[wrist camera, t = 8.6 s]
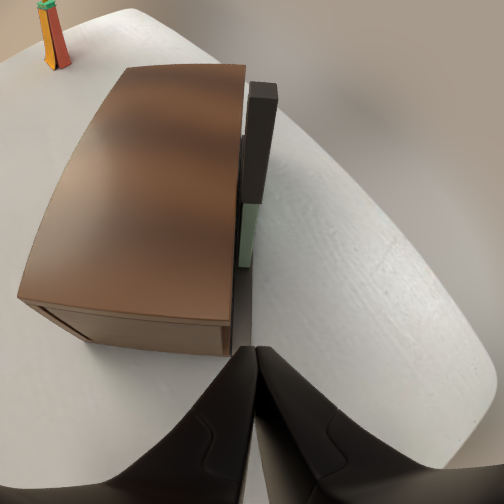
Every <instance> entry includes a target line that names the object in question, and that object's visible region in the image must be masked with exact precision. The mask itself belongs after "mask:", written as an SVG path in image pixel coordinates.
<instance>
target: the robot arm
mask: <svg viewBox="0 0 504 504" xmlns="http://www.w3.org/2000/svg"><path fill="white" fill-rule="evenodd" d="M254 420H255V427H256V433H257V439H258V444H259V450H260V455H261V461H262V466H263V471H264V477H265V482H266V487H267V492H268V498H269V503H270V504H504V464H501V465H494V466H485V467H475V468H462V469H434V468H430V467H426V466H424V465H421V464H419V463H417V462H415V461H413V460H412V459H410V458H408V457H407V456H405V455H403V454H402V453H400V452H398V451H397V450H395V449H394V448H392V447H390V446H389V445H387V444H386V443H384V442H382V441H381V440H379V439H378V438H376V437H375V436H373V435H372V434H370V433H369V432H368V431H366V430H365V429H363V428H362V427H361V426H359V425H358V424H357V423H356V422H354V421H353V420H352V419H351V418H349V417H348V416H347V415H346V414H345V413H343V412H342V411H341V410H340V409H338V408H337V407H336V406H335V405H334V404H333V403H332V402H331V401H329V400H328V399H327V398H326V397H325V396H324V395H323V394H322V393H320V392H319V391H318V390H317V389H316V388H315V387H314V386H313V385H312V384H310V383H309V382H308V381H307V380H306V379H305V378H304V377H303V376H302V375H301V374H299V373H298V372H297V371H296V370H295V369H294V368H293V367H292V366H291V365H290V364H289V363H287V362H286V361H285V360H284V359H283V358H282V357H281V356H280V355H279V354H278V353H277V352H276V351H275V350H274V349H273V348H271V347H270V346H257V347H256V348H255V347H254V346H240V347H239V348H238V350H237V351H236V352H235V353H234V355H233V356H232V357H231V359H230V360H229V361H228V362H227V364H226V365H225V366H224V368H223V369H222V370H221V371H220V373H219V374H218V375H217V377H216V378H215V379H214V380H213V382H212V383H211V384H210V385H209V387H208V388H207V389H206V390H205V392H204V393H203V394H202V395H201V397H200V398H199V399H198V400H197V402H196V403H195V404H194V405H193V406H192V408H191V409H190V410H189V411H188V412H187V414H186V415H185V416H184V417H183V418H182V420H181V421H180V422H179V423H178V424H177V425H176V426H175V427H174V428H173V429H172V431H170V432H169V433H168V434H167V435H166V436H165V437H164V438H163V439H162V440H161V441H160V442H158V443H157V444H156V445H155V446H154V447H153V448H151V449H150V450H149V451H148V452H147V453H145V454H144V455H143V456H142V457H140V458H139V459H138V460H137V461H136V462H134V463H133V464H132V465H131V466H129V467H128V468H127V469H126V470H124V471H123V472H122V473H120V474H119V475H117V476H116V477H114V478H112V479H110V480H107V481H105V482H102V483H98V484H91V485H83V486H73V487H61V488H44V489H17V488H10V487H5V486H1V485H0V504H243V497H244V490H245V483H246V476H247V469H248V462H249V454H250V447H251V439H252V432H253V423H254Z"/></svg>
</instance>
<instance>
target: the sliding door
mask: <svg viewBox="0 0 504 504" xmlns="http://www.w3.org/2000/svg"><path fill="white" fill-rule="evenodd" d="M277 104H278V91H277V84H276V83H265V82H253V81H251V82H250V85H249V94H248V101H247V113H246V126H245V139H244V152H243V167H242V186H241V207H240V228H239V250H238V267H247V268H249V267H250V262H251V255H252V248H253V242H254V235H255V229H256V222H257V215H258V209H259V204H262V198H263V192H264V186H265V179H266V173H267V167H268V161H269V155H270V148H271V142H272V136H273V130H274V123H275V117H276V111H277Z"/></svg>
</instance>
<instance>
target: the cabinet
mask: <svg viewBox="0 0 504 504" xmlns="http://www.w3.org/2000/svg"><path fill="white" fill-rule="evenodd" d="M245 72H246V65H236V64H171V65H154V66H141V67H131V68H126V70H125V71H124V73H123V74H122V75H121V77H120V78H119V79H118V81H117V82H116V84H115V85H114V87H113V88H112V89H111V91H110V92H109V94H108V95H107V97H106V98H105V100H104V101H103V103H102V105H101V106H100V108H99V109H98V111H97V112H96V114H95V116H94V117H93V119H92V121H91V122H90V124H89V126H88V127H87V129H86V131H85V132H84V134H83V136H82V138H81V139H80V141H79V143H78V145H77V147H76V148H75V150H74V152H73V154H72V156H71V158H70V160H69V162H68V164H67V166H66V168H65V170H64V172H63V174H62V176H61V178H60V180H59V182H58V184H57V186H56V189H55V191H54V193H53V195H52V197H51V200H50V202H49V204H48V207H47V209H46V211H45V214H44V216H43V219H42V221H41V224H40V226H39V229H38V232H37V234H36V237H35V240H34V243H33V245H32V248H31V251H30V254H29V257H28V260H27V263H26V267H25V270H24V273H23V276H22V280H21V283H20V287H19V291H18V294H17V298H18V299H20V300H21V301H23V302H24V303H25V304H26V305H28V306H29V307H31V308H32V309H34V310H35V311H37V312H38V313H39V314H41V315H42V316H44V317H45V318H47V319H48V320H50V321H52V322H53V323H55V324H56V325H58V326H59V327H61V328H63V329H64V330H66V331H67V332H69V333H71V334H72V335H74V336H76V337H77V338H79V339H81V340H82V341H87V342H93V343H99V344H105V345H112V346H119V347H126V348H134V349H142V350H151V351H160V352H170V353H181V354H194V355H208V356H226V357H229V356H230V330H231V306H232V284H233V263H234V244H235V225H236V207H237V190H238V174H239V158H240V143H241V128H242V113H243V99H244V85H245ZM244 139H245V135H242V144H241V160H240V177H239V194H238V213H237V232H236V252H235V273H234V295H233V320H232V346H231V357H232V356H233V355H234V353H235V352H236V351H237V350H238V348H239V347H240V346H251V318H252V262H253V248H252V255H251V262H250V267H249V268H247V267H238V250H239V228H240V207H241V186H242V167H243V152H244Z"/></svg>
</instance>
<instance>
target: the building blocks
mask: <svg viewBox="0 0 504 504" xmlns="http://www.w3.org/2000/svg"><path fill="white" fill-rule="evenodd" d="M37 4H38V7H37V8H38V12H39V17H40V22H41V27H42V33H43V38H44V44H45V51H46V57H45V59H44V60H45V61H46V62H47V63H48V65H49V66H50V67H51V68H52V69H53V70H55V63H56V64H57V65H58V66H59V67H60V68H61V69H62V68H64V67H66V66H68V65H70V64H71V61H70V58H69V54H68V51H67V48H66V44H65V41H64V37H63V34H62V30H61V26H60V22H59V19H58V15H57V10H56V5H55V1H53V0H42V1H41V2H39V3H37Z"/></svg>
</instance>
